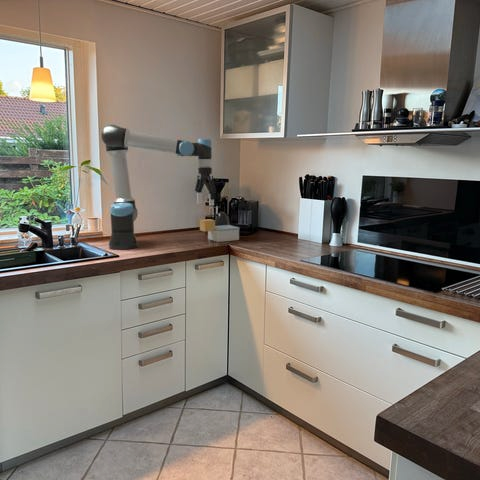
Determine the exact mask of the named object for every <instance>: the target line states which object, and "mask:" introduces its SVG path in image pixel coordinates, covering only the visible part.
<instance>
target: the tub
mask: <svg viewBox="0 0 480 480" xmlns="http://www.w3.org/2000/svg"><path fill="white" fill-rule="evenodd" d="M207 239H208V240H211V241H213V242H218V243H220V242H230V241H239V240H240V230H229V231H207Z"/></svg>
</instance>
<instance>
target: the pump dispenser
mask: <svg viewBox="0 0 480 480" xmlns="http://www.w3.org/2000/svg"><path fill="white" fill-rule="evenodd" d="M214 216H215V226H222V225H230V221H229V219H228V216H227V214H226V213H225V212H224V211H220V212H218V213H214Z"/></svg>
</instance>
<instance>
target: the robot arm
mask: <svg viewBox="0 0 480 480" xmlns="http://www.w3.org/2000/svg"><path fill="white" fill-rule="evenodd" d="M100 136H101V140H102V142H103V143H104V144H105V150H106V153H107V154H108V155H109V158H110V164H111V165H110V166H111V171H112V172H111V173H112V180H113V188H114V195H115V199H114V200H113V204H111V205H110V211H109V213H110V224H111V235H110V238H109V242H108V248H109V249H111V250H129V249H130V250H131V249H135V248H138V246H139V243H138V240H137V237H136V234H135V227H134V224H135V223H134V222H135V221H136V219H137V218H138V209H137V207H136V200H135V198H133V197H132V191H131V190H132V189H131V184H130V183H131V182H130V175H129V168H128V160H127V153H128V151H129V148H128V147H132V148H139V149H144V150H151V151H156V152H162V153H168V154H175V155H176V156H177V157H198V158H197V159H198V160H197V163H198V165H197V166H198V169H197V170H198V172H197V173H198V175H197V180H196V184H195V189H194V192H196V194H197V205H202V204H203V191H202V190H203V188H204V186H205V185H206V187H207V190H208V206H209V207H210V206H215V194H216V193H217V189H216V185H215V180H214V175H212V173H213V172H212V170H213V167H212V166H213V165H212V163H213V161H212V159H213V158H212V154H213V153H212V150H213V149H212V140H211V139H209V138H198V140H197V141H196V142H191V141H189V140H181V139H175V138H170V137H164V136H159V135H154V134H149V133H148V134H147V133H143V132H135V131H131V130H130V129H128V128H126V127H125V128H124V127H121V126H118V125H116V124H108V125H106V126H104V127H103V129H102V130H101V134H100Z"/></svg>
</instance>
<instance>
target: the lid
mask: <svg viewBox="0 0 480 480" xmlns="http://www.w3.org/2000/svg"><path fill="white" fill-rule="evenodd" d="M240 228H241V227H239V226H235V225H231V224H229V225H222V226H215V220H214V219H211V218H209V219H208V218H207V219H199V230H200V231H201V232H208V231H229V230H239V231H240Z"/></svg>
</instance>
